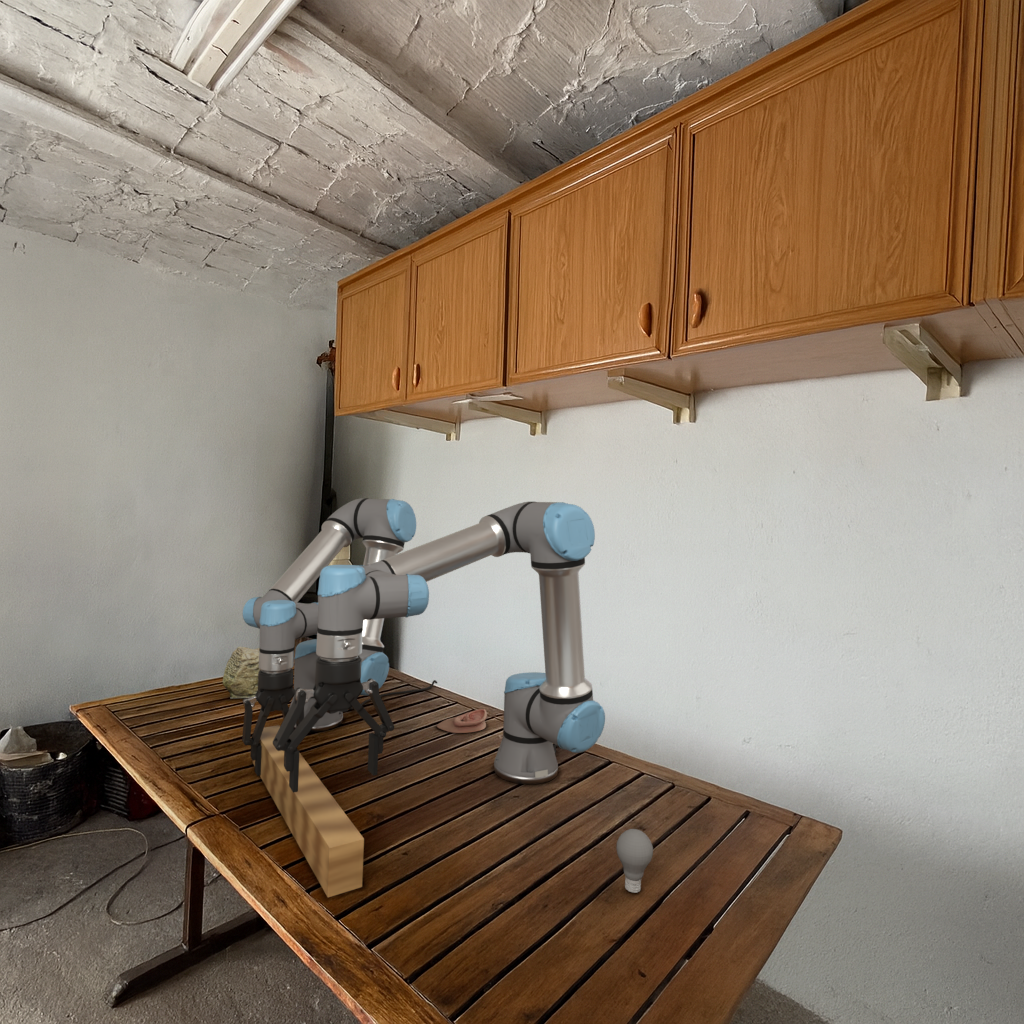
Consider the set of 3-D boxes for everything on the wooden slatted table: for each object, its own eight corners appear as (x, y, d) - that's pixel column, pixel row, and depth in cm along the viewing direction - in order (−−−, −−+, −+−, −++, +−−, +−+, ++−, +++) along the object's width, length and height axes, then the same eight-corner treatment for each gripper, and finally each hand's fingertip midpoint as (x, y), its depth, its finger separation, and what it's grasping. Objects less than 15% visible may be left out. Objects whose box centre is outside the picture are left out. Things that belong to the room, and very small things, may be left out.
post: (252, 762, 149) (253, 728, 149) (277, 758, 152) (278, 725, 152) (327, 897, 101) (329, 847, 100) (362, 887, 104) (364, 838, 104)
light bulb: (610, 879, 108) (613, 822, 108) (644, 879, 109) (647, 822, 109) (619, 902, 102) (622, 840, 102) (655, 901, 103) (658, 840, 103)
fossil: (218, 695, 195) (220, 647, 195) (278, 685, 208) (279, 640, 207) (228, 703, 189) (230, 653, 188) (289, 692, 201) (290, 645, 201)
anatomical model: (433, 716, 174) (446, 703, 185) (433, 730, 174) (445, 716, 185) (480, 721, 171) (490, 708, 182) (479, 736, 171) (489, 722, 183)
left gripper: (234, 678, 136) (231, 785, 136) (322, 668, 146) (318, 768, 146) (228, 669, 142) (225, 772, 142) (313, 661, 152) (309, 756, 153)
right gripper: (267, 670, 98) (262, 806, 98) (415, 654, 111) (410, 773, 112) (256, 658, 104) (252, 786, 104) (398, 645, 118) (394, 758, 118)
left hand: (272, 770), depth 144 cm, fingers closed on post, 6 cm apart
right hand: (334, 780), depth 108 cm, fingers open, 13 cm apart
